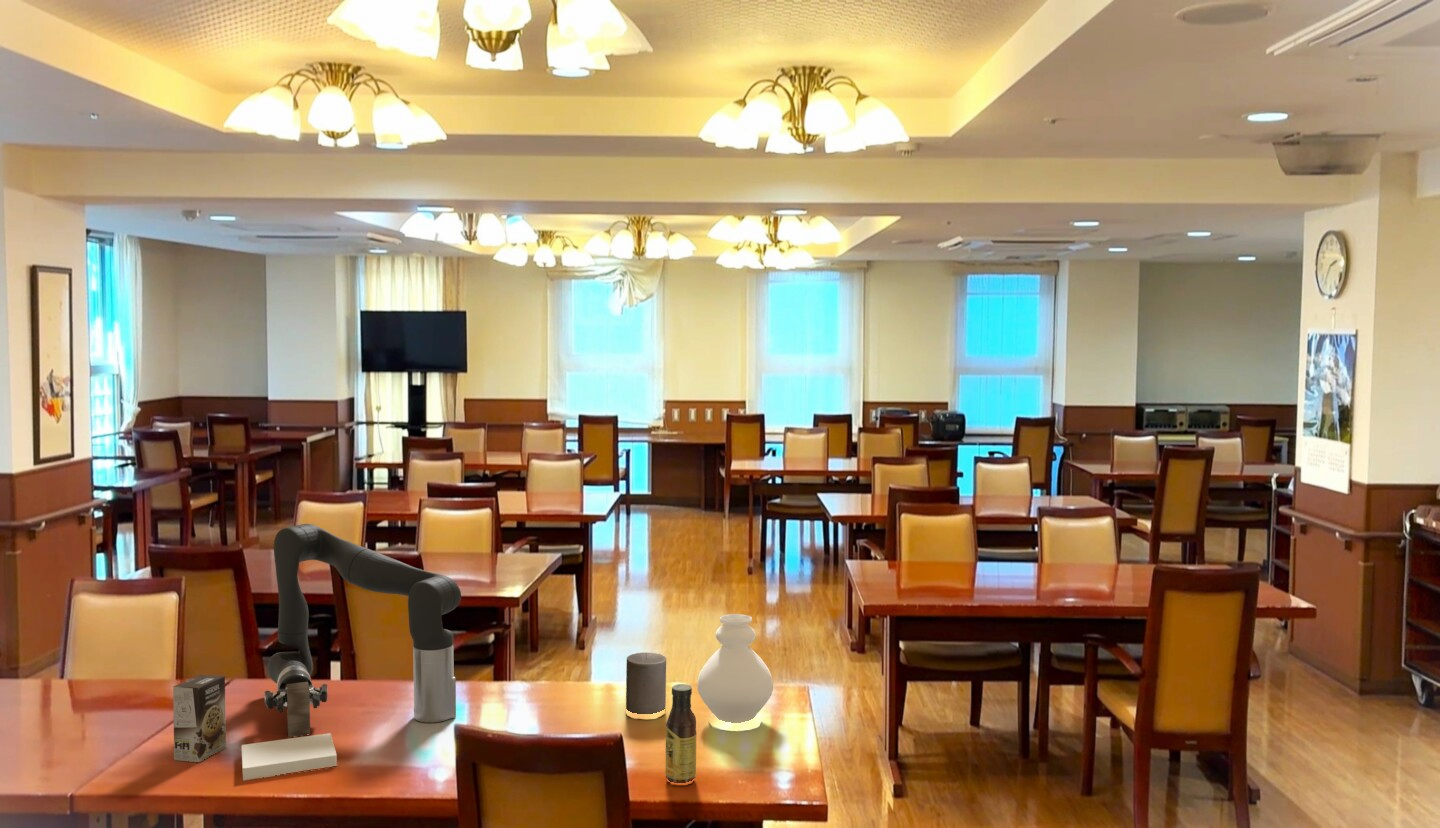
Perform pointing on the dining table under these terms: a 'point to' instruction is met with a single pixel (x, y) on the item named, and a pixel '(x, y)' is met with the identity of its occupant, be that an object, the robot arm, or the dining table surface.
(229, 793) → the dining table surface
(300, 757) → the base
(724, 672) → the decorative vase
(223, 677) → the coffee box
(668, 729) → the sauce bottle
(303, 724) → the column
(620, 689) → the dining table surface
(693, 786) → the dining table surface
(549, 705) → the dining table surface
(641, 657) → the pillar candle
